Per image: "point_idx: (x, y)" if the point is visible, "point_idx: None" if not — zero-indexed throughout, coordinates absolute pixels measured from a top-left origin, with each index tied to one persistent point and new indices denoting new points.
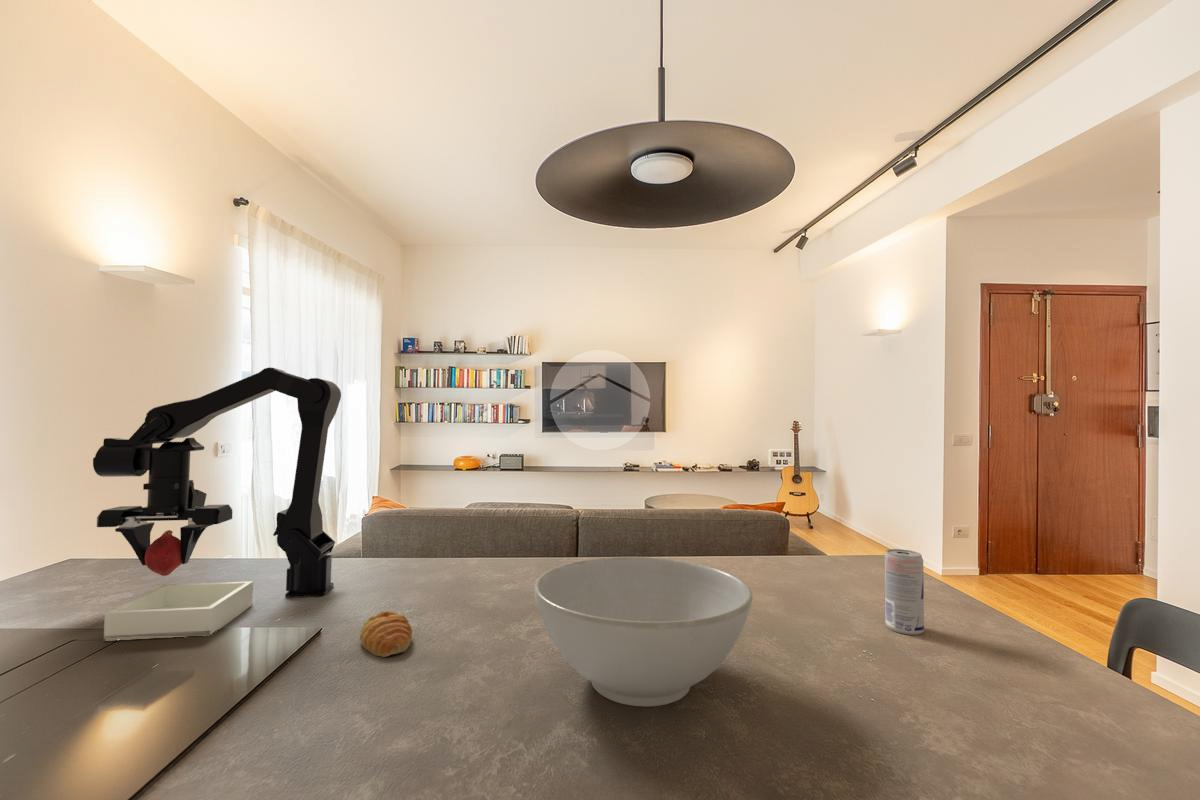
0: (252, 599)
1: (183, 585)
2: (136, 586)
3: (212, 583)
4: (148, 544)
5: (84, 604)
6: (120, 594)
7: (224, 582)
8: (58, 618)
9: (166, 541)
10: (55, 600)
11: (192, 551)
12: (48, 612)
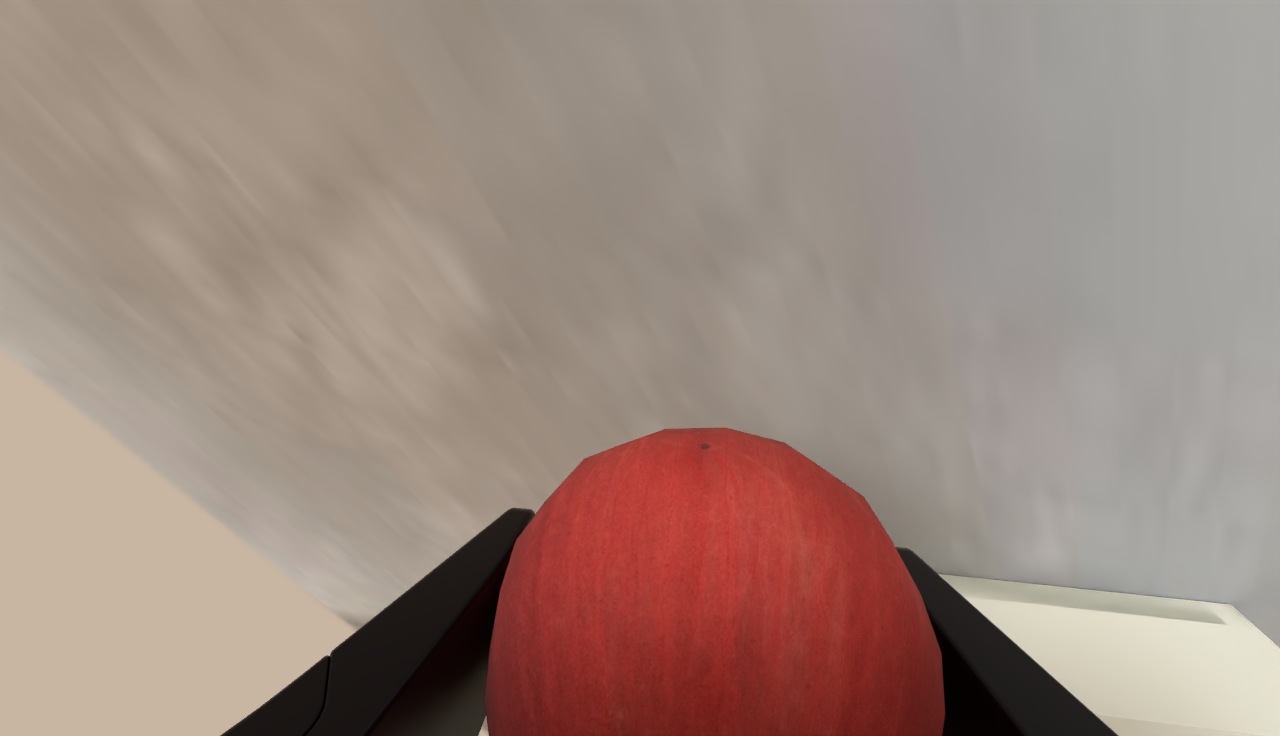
0: (1261, 632)
1: None
2: (326, 34)
3: (1108, 724)
4: (420, 711)
5: (345, 406)
6: (382, 250)
7: (1189, 727)
8: (410, 562)
9: None
10: (122, 302)
11: (1016, 656)
12: (294, 484)
